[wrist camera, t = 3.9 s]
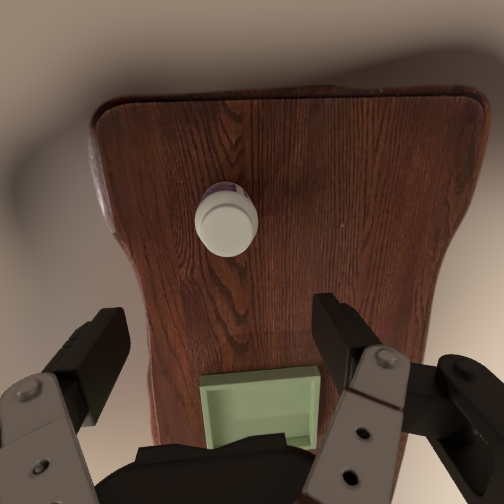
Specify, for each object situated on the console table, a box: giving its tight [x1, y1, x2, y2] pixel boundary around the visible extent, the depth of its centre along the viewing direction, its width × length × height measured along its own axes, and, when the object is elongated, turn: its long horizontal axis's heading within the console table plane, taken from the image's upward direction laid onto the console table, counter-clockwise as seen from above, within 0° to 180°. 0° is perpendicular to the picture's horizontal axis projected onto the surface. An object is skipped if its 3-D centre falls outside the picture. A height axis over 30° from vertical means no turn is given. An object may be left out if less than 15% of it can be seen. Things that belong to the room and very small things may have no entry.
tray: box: [200, 365, 321, 450], centre depth 40 cm, size 16×14×2 cm
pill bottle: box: [195, 182, 258, 257], centre depth 26 cm, size 5×5×10 cm
